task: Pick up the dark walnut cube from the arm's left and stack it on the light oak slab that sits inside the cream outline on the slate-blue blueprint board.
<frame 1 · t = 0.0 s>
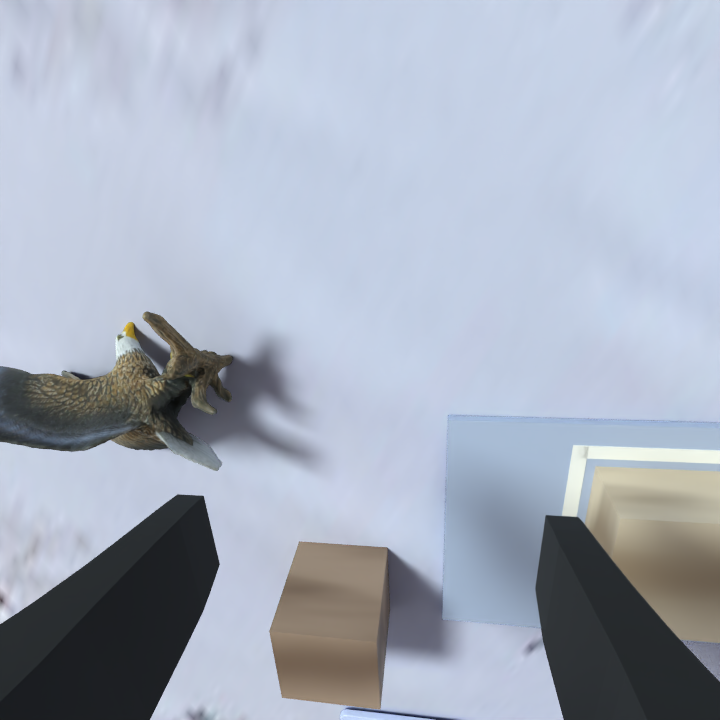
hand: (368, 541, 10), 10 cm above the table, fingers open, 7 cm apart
oak slab: (659, 526, 21), resting on blueprint board
blueprint board: (626, 535, 22), on the table
walnut block: (345, 575, 25), on the table
eagle figurine: (151, 366, 22), on the table
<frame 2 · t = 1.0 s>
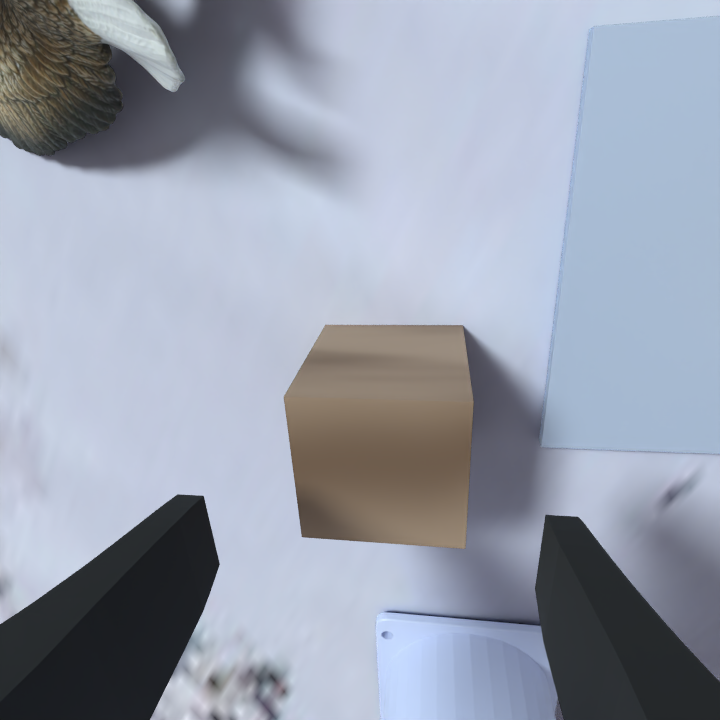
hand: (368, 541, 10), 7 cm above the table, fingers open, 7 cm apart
walnut block: (394, 385, 17), on the table
eagle figurine: (80, 6, 13), on the table
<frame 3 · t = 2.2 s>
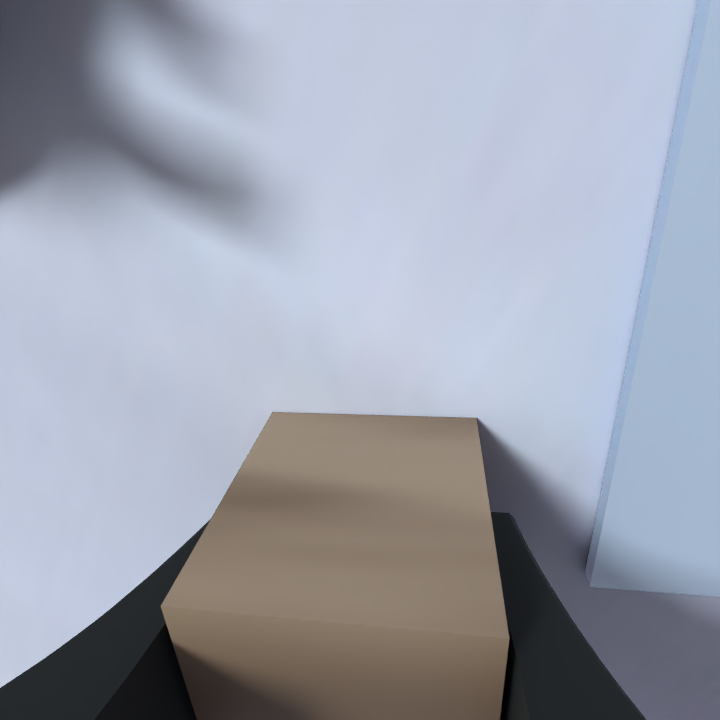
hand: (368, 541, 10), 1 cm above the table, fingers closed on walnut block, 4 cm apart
walnut block: (375, 496, 12), on the table, touching gripper
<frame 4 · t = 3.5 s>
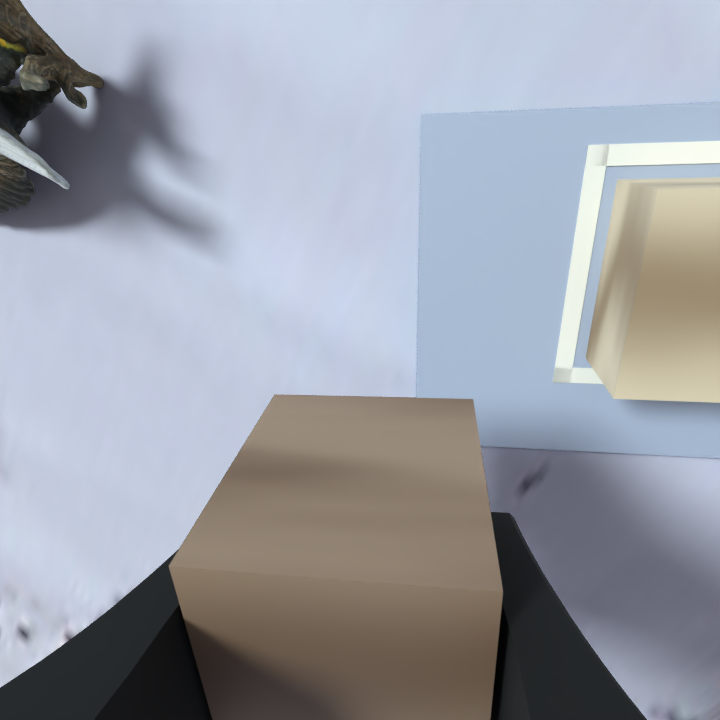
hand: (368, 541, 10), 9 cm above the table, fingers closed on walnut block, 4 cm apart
oak slab: (698, 275, 16), resting on blueprint board
blueprint board: (653, 301, 17), on the table
walnut block: (374, 477, 12), point 8 cm above the table, touching gripper
eagle figurine: (7, 106, 17), on the table
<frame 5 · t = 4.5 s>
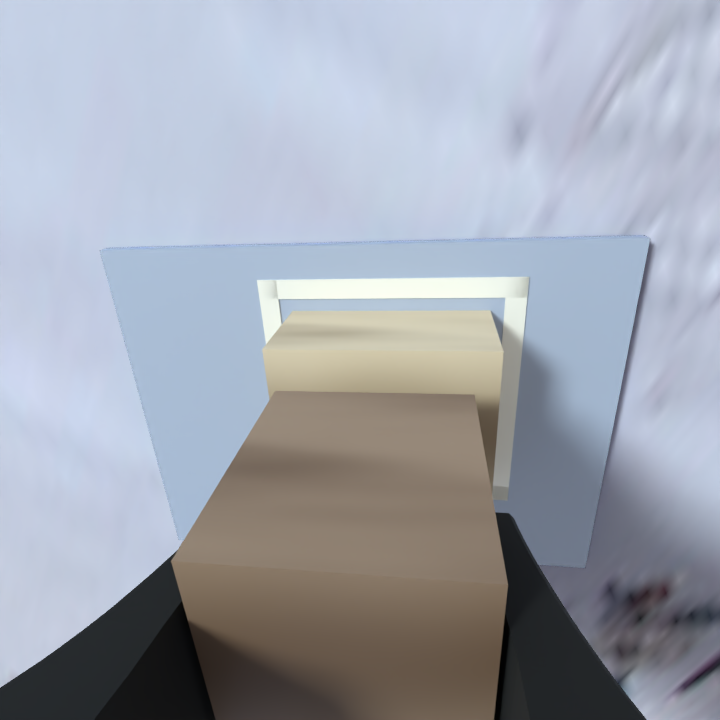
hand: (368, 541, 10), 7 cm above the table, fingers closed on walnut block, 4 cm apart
oak slab: (390, 397, 16), resting on blueprint board
blueprint board: (363, 416, 17), on the table
walnut block: (375, 474, 12), point 5 cm above the table, touching gripper
when the fingers open (6 cm above the table, at t = 5.0 s): walnut block stays where it is, resting on oak slab.
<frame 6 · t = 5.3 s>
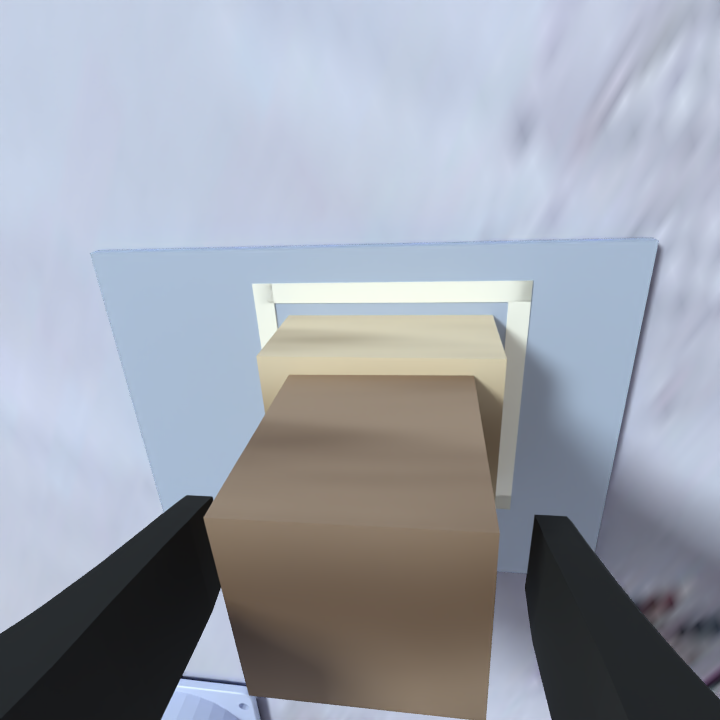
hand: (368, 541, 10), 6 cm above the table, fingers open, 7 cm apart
oak slab: (390, 403, 15), resting on blueprint board, touching walnut block
blueprint board: (362, 422, 16), on the table
walnut block: (382, 451, 13), point 3 cm above the table, touching oak slab
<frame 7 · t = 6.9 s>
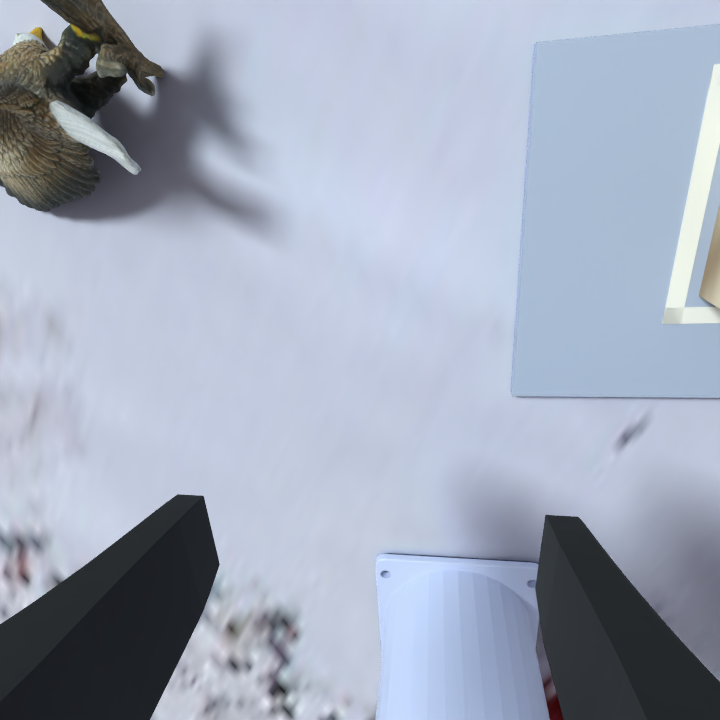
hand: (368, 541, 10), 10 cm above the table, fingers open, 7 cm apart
eagle figurine: (69, 100, 18), on the table
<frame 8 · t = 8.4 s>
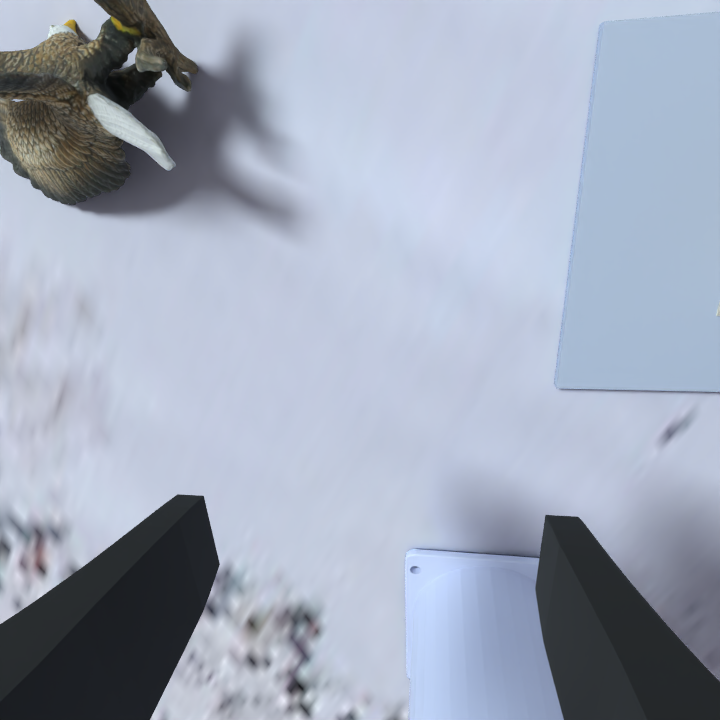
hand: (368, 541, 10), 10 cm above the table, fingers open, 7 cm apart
eagle figurine: (99, 94, 18), on the table
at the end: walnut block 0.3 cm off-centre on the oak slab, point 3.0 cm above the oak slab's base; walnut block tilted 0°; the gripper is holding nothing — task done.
